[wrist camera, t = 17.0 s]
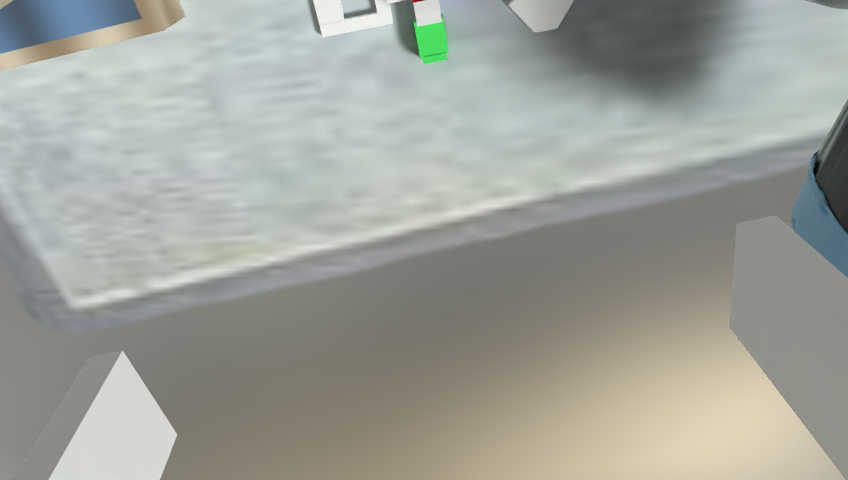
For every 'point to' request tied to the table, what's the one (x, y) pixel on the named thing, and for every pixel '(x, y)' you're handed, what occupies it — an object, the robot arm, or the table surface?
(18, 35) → the plinth
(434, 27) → the building block set
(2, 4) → the flower pot
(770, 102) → the table surface
